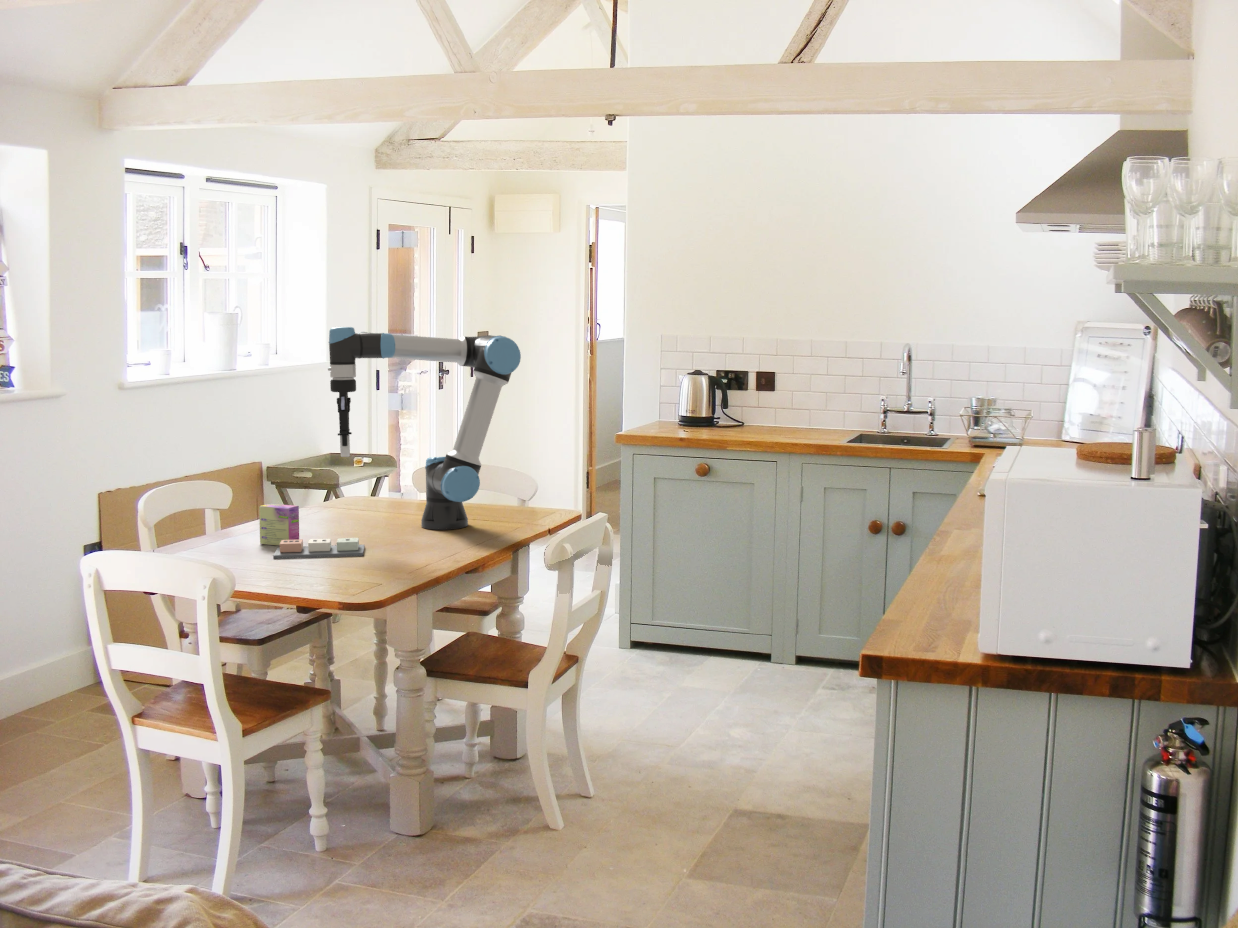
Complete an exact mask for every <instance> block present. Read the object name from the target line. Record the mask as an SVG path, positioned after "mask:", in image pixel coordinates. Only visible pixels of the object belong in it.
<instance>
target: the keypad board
mask: <svg viewBox="0 0 1238 928" xmlns="http://www.w3.org/2000/svg"><path fill="white" fill-rule="evenodd" d="M364 552H365V544H359V548H358V550H347V551H337V544H334V545H332V544H331V549H330V551H314V552H308V545H306V546H305V545H303V549H302V551H301V552H280V546H278V547H277V548H276V550H275V552H274V553H273V557H272V558H273V560H276V559H277V560H281V559H284V560H285V559H309V558H310V559H312V558H317V559H318V558H343V557H345V558H346V557H364Z"/></svg>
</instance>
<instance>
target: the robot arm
mask: <svg viewBox="0 0 1238 928" xmlns="http://www.w3.org/2000/svg"><path fill="white" fill-rule="evenodd" d="M328 334H329V337H328V346H329V347H328V348H329V349H328V350H329V351H328V353H329V367H328V368H327V371H328V372H329V376H330V378H332V379H331V380H330V381H329V382H330V392H332V393H339V395H338V397H336V404H337V412H338V419H339V423H338V425H339V433H337V436H339V443H340V445H339V446H340V448H339V449H340V457H341V458H349V457H351V444H350V441H351V439H350V435H352V434H353V432H351V431H350V430H351V429H350V411H351V402H352V401H351V400H352V399H351V397H349V393H354V392H356V391H357V380H356V379H355V378H356V376H357V365H356V359H401V360H411V361H412V360H414V361H428V362H442V363H457V364H458V365H459V367H468V368H473V371H472V372H473V375H474V376H475V381H474V383H473V387H472V389H471V393H470V394H469V399H468V402H467V405H466V408H465V411H464V415H463V418H462V421H461V424H460V425H459V430H458V433H457V436H456V440H455V442H454V445H453V448H452V450H451V451H448V452H446V454H445V456H433V457H428V458H427V459H426V460H425V468H424V469H425V494H426V497H425V498H426V501H425V502H426V503H425V504H426V505H425V506H424V510H423V513H422V517H421V525H420V526H421V528H423V529H427V530H437V531H438V530H441V531H442V530H459V529H464V528H466V527H468V525H469V517H468V516H467V511H466V510H465V507H464V502H467V501H469V500H471V499H472V498H474V497H475V496H476V495H477V493H478V492H479V490H480V485H481V479H480V476H479V474H480V471H481V467H482V463H481V460H480V455H481V453H482V449H483V447H484V443H485V439H486V436H487V434H488V431H489V427H490V424H491V421H492V420H493V419H492V418H493V415H494V413H495V408H496V405H497V402H498V400H499V397H500V395H501V394H500V393H501V391H502V388H503V387H504V386H506V385H508V384H509V382H510V378H511V375H512V374H513V372H514V371H516V370H517V369H518V367H519V365H520V362H521V358H522V357H521V354H522V353H521V349H520V347H519V346H518V344H517V343H516V342H515V340H513V339H511V338H509V337H507V336H502V335H492V334H491V335H481V336H479V335H477V336H461V337H459V338H447V337H445V338H444V337H436V336H435V337H433V336H432V337H431V336H421V335H419V336H418V335H405V334H393V333H385V332H379V333H378V332H375V333H374V332H367V331H361V332H358V333H356V330H355V327H352V326H334V327H331V328H330V329H329V333H328Z"/></svg>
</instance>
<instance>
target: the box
mask: <svg viewBox="0 0 1238 928" xmlns="http://www.w3.org/2000/svg"><path fill="white" fill-rule="evenodd" d="M258 509H259V510H258V514H259V517H258V518H259V519H258V520H259V543H260V545H269V546H271V545H272V546H278V547H280V542H281V541H282V540H297V539H300V510H299V509H300V507H299V505H293V504H292V505H291V504H279V503H265V504H263V505H262V504H261V505H259V507H258Z"/></svg>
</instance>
